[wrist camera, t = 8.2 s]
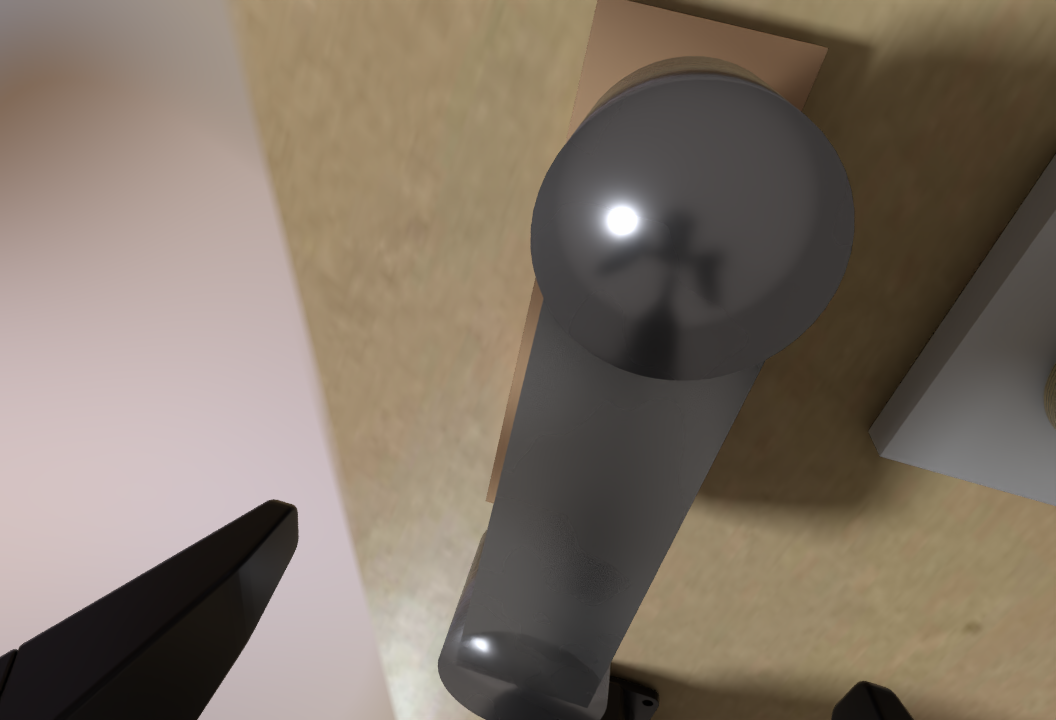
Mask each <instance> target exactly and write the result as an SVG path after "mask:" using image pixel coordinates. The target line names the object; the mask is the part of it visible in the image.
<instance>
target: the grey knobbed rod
mask: <svg viewBox="0 0 1056 720" xmlns="http://www.w3.org/2000/svg"><path fill="white" fill-rule="evenodd" d="M853 237H854V204H853V198H852V191H851V187H850V184H849V181H848V177H847V174H846V171H845V168H844V166H843V164H842V162H841V160H840V158H839V156H838V154H837V152H836V150H835V149H834V147H833V146H832V145H831V143H830V142H829V140H828V139H827V138H826V136H825V135H824V134H823V132H822V131H821V130H820V129H819V128H818V127H817V126H816V125H815V124H814V123H813V122H812V121H811V120H810V119H809V118H808V117H807V116H806V115H805V114H803V113H802V112H801V111H800V110H799V109H797V108H796V107H795V106H794V105H792V104H791V103H790V102H789V101H788V100H786V99H785V98H784V97H783V96H781V95H780V94H779V93H778V92H777V91H775V90H774V89H773V88H772V87H770V86H769V85H768V84H767V83H766V82H764V81H763V80H762V79H760V78H759V77H757V76H756V75H755V74H753V73H752V72H751V71H749V70H747V69H745V68H743V67H741V66H739V65H737V64H734V63H731V62H728V61H725V60H722V59H717V58H711V57H705V56H683V57H675V58H669V59H665V60H661V61H658V62H654V63H652V64H649V65H647V66H644V67H642V68H640V69H638V70H636V71H634V72H633V73H631V74H629V75H627V76H626V77H624V78H623V79H621V80H620V81H619V82H617V83H616V84H615V85H614V86H612V87H611V88H610V89H609V90H608V91H607V92H606V93H605V94H604V95H603V96H602V97H601V98H600V99H599V100H598V101H597V103H596V104H595V105H594V107H593V108H592V109H591V110H590V112H589V113H588V114H587V116H586V117H585V118H584V120H583V121H582V122H581V124H580V125H579V126H578V128H577V129H576V131H575V132H574V133H573V135H572V136H571V137H570V139H569V140H568V141H567V143H566V144H565V145H564V147H563V148H562V149H561V151H560V152H559V153H558V155H557V157H556V158H555V160H554V162H553V163H552V165H551V167H550V168H549V170H548V172H547V174H546V176H545V178H544V180H543V183H542V185H541V187H540V190H539V193H538V196H537V200H536V203H535V207H534V210H533V217H532V224H531V255H532V263H533V268H534V272H535V276H536V280H537V283H538V286H539V288H540V291H541V293H542V296H543V302H542V306H541V310H540V315H539V319H538V323H537V327H536V331H535V335H534V339H533V344H532V348H531V352H530V356H529V360H528V364H527V368H526V373H525V377H524V381H523V385H522V389H521V393H520V397H519V401H518V406H517V410H516V414H515V418H514V422H513V426H512V430H511V435H510V439H509V443H508V447H507V451H506V455H505V459H504V464H503V468H502V472H501V476H500V480H499V484H498V488H497V492H496V497H495V501H494V505H493V509H492V513H491V517H490V521H489V526H488V529H487V530H486V532H485V533H484V534H483V536H482V538H481V540H480V543H479V546H478V549H477V552H476V554H475V557H474V560H473V563H472V566H471V569H470V572H469V574H468V577H467V580H466V583H465V586H464V589H463V591H462V594H461V597H460V600H459V603H458V606H457V608H456V611H455V614H454V617H453V620H452V623H451V625H450V628H449V631H448V634H447V637H446V640H445V643H444V645H443V648H442V651H441V654H440V657H439V660H438V671H439V675H440V678H441V680H442V682H443V684H444V686H445V687H446V689H447V690H448V692H449V693H450V694H451V695H452V696H453V697H454V698H455V699H456V700H457V701H458V702H459V703H460V704H462V705H463V706H464V707H466V708H467V709H468V710H470V711H471V712H473V713H475V714H476V715H478V716H480V717H482V718H484V719H485V720H600V719H601V717H602V716H603V715H604V713H605V710H606V708H607V701H608V689H609V678H610V667H611V661H612V659H613V657H614V655H615V653H616V651H617V649H618V647H619V645H620V643H621V641H622V640H623V638H624V636H625V634H626V632H627V630H628V628H629V626H630V624H631V622H632V620H633V618H634V616H635V614H636V612H637V610H638V608H639V606H640V604H641V602H642V600H643V598H644V597H645V595H646V593H647V591H648V589H649V587H650V585H651V583H652V581H653V579H654V577H655V575H656V573H657V571H658V569H659V567H660V565H661V563H662V561H663V559H664V557H665V555H666V554H667V552H668V550H669V548H670V546H671V544H672V542H673V540H674V538H675V536H676V534H677V532H678V530H679V528H680V526H681V524H682V522H683V520H684V518H685V516H686V514H687V512H688V511H689V509H690V507H691V505H692V503H693V501H694V499H695V497H696V495H697V493H698V491H699V489H700V487H701V485H702V483H703V481H704V479H705V477H706V475H707V473H708V471H709V469H710V468H711V466H712V464H713V462H714V460H715V458H716V456H717V454H718V452H719V450H720V448H721V446H722V444H723V442H724V440H725V438H726V436H727V434H728V432H729V430H730V428H731V427H732V425H733V423H734V421H735V419H736V417H737V415H738V413H739V411H740V409H741V407H742V405H743V403H744V401H745V399H746V397H747V395H748V393H749V391H750V389H751V387H752V385H753V384H754V382H755V380H756V378H757V376H758V374H759V372H760V370H761V368H762V366H763V364H764V362H765V360H766V359H768V358H770V357H771V356H773V355H775V354H776V353H778V352H780V351H781V350H783V349H784V348H785V347H787V346H788V345H789V344H791V343H792V342H793V341H795V340H796V339H797V338H798V337H800V336H801V335H802V334H803V333H804V332H805V331H806V330H807V329H808V328H809V327H810V326H811V325H812V324H813V323H814V322H815V320H816V319H817V318H818V317H819V316H820V314H821V313H822V312H823V311H824V310H825V308H826V307H827V305H828V303H829V302H830V300H831V299H832V297H833V296H834V294H835V292H836V291H837V288H838V286H839V284H840V282H841V280H842V278H843V276H844V273H845V271H846V267H847V264H848V261H849V258H850V254H851V250H852V243H853Z"/></svg>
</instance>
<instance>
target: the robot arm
mask: <svg viewBox="0 0 1056 720" xmlns="http://www.w3.org/2000/svg"><path fill="white" fill-rule="evenodd" d="M297 543H298V512H297V508H296V507H295V506H294V505H292V504H289V503H285V502H283V501H279V500H274V499H273V500H269V501H267V502H265V503H263V504H261V505H260V506H258V507H256V508H254V509H253V510H251V511H249V512H248V513H246V514H244V515H242V516H241V517H239V518H237V519H236V520H234V521H232V522H231V523H229V524H227V525H225V526H224V527H222V528H220V529H218V530H217V531H215V532H213V533H212V534H210V535H208V536H207V537H205V538H203V539H201V540H200V541H198V542H196V543H195V544H193V545H191V546H189V547H188V548H186V549H184V550H183V551H181V552H179V553H177V554H176V555H174V556H172V557H171V558H169V559H167V560H165V561H164V562H162V563H160V564H159V565H157V566H155V567H154V568H152V569H150V570H148V571H147V572H145V573H143V574H141V575H140V576H138V577H136V578H135V579H133V580H131V581H130V582H128V583H126V584H125V585H123V586H121V587H119V588H118V589H116V590H114V591H112V592H111V593H109V594H107V595H106V596H104V597H102V598H101V599H99V600H97V601H95V602H94V603H92V604H90V605H89V606H87V607H85V608H83V609H82V610H80V611H78V612H77V613H75V614H73V615H71V616H70V617H68V618H66V619H65V620H63V621H61V622H60V623H58V624H56V625H54V626H53V627H51V628H49V629H48V630H46V631H44V632H42V633H41V634H39V635H37V636H35V637H34V638H32V639H30V640H29V641H27V642H25V643H23V644H22V645H21V646H20V647H19V649H18V650H17V649H13V650H11V651H10V652H8V653H6V654H4V655H2V656H1V657H0V720H197V719H198V718H199V716H200V715H201V713H202V712H203V710H204V709H205V707H206V706H207V704H208V703H209V701H210V699H211V698H212V697H213V695H214V693H215V692H216V690H217V689H218V687H219V686H220V684H221V683H222V681H223V680H224V678H225V677H226V675H227V674H228V672H229V671H230V669H231V668H232V666H233V664H234V663H235V661H236V660H237V658H238V657H239V655H240V654H241V652H242V650H243V649H244V647H245V645H246V644H247V642H248V641H249V639H250V637H251V635H252V633H253V631H254V630H255V628H256V626H257V624H258V622H259V620H260V618H261V616H262V614H263V612H264V610H265V608H266V606H267V604H268V603H269V601H270V599H271V597H272V595H273V593H274V591H275V589H276V587H277V585H278V583H279V581H280V579H281V578H282V576H283V574H284V572H285V570H286V568H287V566H288V564H289V562H290V560H291V558H292V556H293V554H294V552H295V550H296V547H297ZM658 706H659V694H658V693H657V692H656V691H655V690H653V689H650V688H647V687H644V686H640V685H637V684H634V683H631V682H628V681H625V680H621V679H618V678H615V677H612V676H610V678H609V689H608V701H607V708H606V710H605V713H604V715H603V716H602V717H601V719H600V720H650V719H651V717H652V716H653V714H654V713H655V711H656V710H657V708H658ZM831 720H914V719H913V718H912V716H911V715H910V714H909V712H908V711H907V709H906V708H905V707H904V705H903V704H902V703H901V701H900V700H899V698H898V697H897V696H896V695H895V694H894V693H893V692H892V691H891V690H890V689H888V688H886V687H883V686H880V685H877V684H874V683H870V682H867V681H860V682H858V683H857V684H856V685H855V686H854V687H853V688H852V689H851V690H850V691H849V692H848V693H847V694H846V695H845V696H844V697H843V698H842V699H841V700H840V701H839V702H838V703H837V704H836V705H835V707H834V709H833V712H832V718H831Z"/></svg>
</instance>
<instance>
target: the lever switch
mask: <svg viewBox="0 0 1056 720" xmlns="http://www.w3.org/2000/svg"><path fill="white" fill-rule="evenodd" d="M1044 408H1045V411H1046V415H1047V417H1048V419H1049V421H1050V423H1051V425H1052V426H1053V427H1054V428H1055V430H1056V363H1055V364H1054V366H1053V368H1052V370H1051V372H1050V374H1049V376H1048V378H1047V382H1046V385H1045V389H1044Z"/></svg>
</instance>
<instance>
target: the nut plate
mask: <svg viewBox="0 0 1056 720" xmlns="http://www.w3.org/2000/svg"><path fill="white" fill-rule="evenodd" d="M1055 363H1056V154H1055V156H1054V157H1053V159H1052V160H1051V162H1050V163H1049V165H1048V166H1047V168H1046V169H1045V171H1044V172H1043V173H1042V175H1041V176H1040V178H1039V179H1038V181H1037V182H1036V184H1035V185H1034V187H1033V188H1032V190H1031V191H1030V193H1029V194H1028V196H1027V197H1026V199H1025V200H1024V202H1023V203H1022V204H1021V206H1020V207H1019V209H1018V210H1017V212H1016V213H1015V215H1014V216H1013V218H1012V219H1011V221H1010V222H1009V224H1008V225H1007V227H1006V228H1005V230H1004V231H1003V233H1002V234H1001V236H1000V237H999V238H998V240H997V241H996V243H995V244H994V246H993V247H992V249H991V250H990V252H989V253H988V255H987V256H986V258H985V259H984V261H983V262H982V264H981V265H980V267H979V268H978V270H977V271H976V272H975V274H974V275H973V277H972V278H971V280H970V281H969V283H968V284H967V286H966V287H965V289H964V290H963V292H962V293H961V295H960V296H959V298H958V299H957V301H956V302H955V303H954V305H953V306H952V308H951V309H950V311H949V312H948V314H947V315H946V317H945V318H944V320H943V321H942V323H941V324H940V326H939V327H938V329H937V330H936V332H935V333H934V335H933V336H932V337H931V339H930V340H929V342H928V343H927V345H926V346H925V348H924V349H923V351H922V352H921V354H920V355H919V357H918V358H917V360H916V361H915V363H914V364H913V366H912V367H911V368H910V370H909V371H908V373H907V374H906V376H905V377H904V379H903V380H902V382H901V383H900V385H899V386H898V388H897V389H896V391H895V392H894V394H893V395H892V397H891V398H890V400H889V401H888V402H887V404H886V405H885V407H884V408H883V410H882V411H881V413H880V414H879V416H878V417H877V419H876V420H875V422H874V423H873V425H872V426H871V428H870V429H869V431H868V432H869V434H870V437H871V439H872V441H873V443H874V445H875V447H876V450H877V452H878V454H879V456H880V457H884V458H887V459H891V460H894V461H898V462H901V463H905V464H909V465H912V466H916V467H919V468H923V469H926V470H930V471H933V472H937V473H940V474H944V475H948V476H951V477H955V478H958V479H962V480H965V481H969V482H972V483H976V484H980V485H983V486H987V487H990V488H994V489H997V490H1001V491H1004V492H1008V493H1011V494H1015V495H1019V496H1022V497H1026V498H1029V499H1033V500H1036V501H1040V502H1043V503H1047V504H1051V505H1054V506H1056V430H1055V428H1054V427H1053V426H1052V425H1051V423H1050V421H1049V419H1048V417H1047V415H1046V411H1045V408H1044V389H1045V385H1046V382H1047V378H1048V376H1049V374H1050V372H1051V370H1052V368H1053V366H1054V364H1055Z"/></svg>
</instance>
